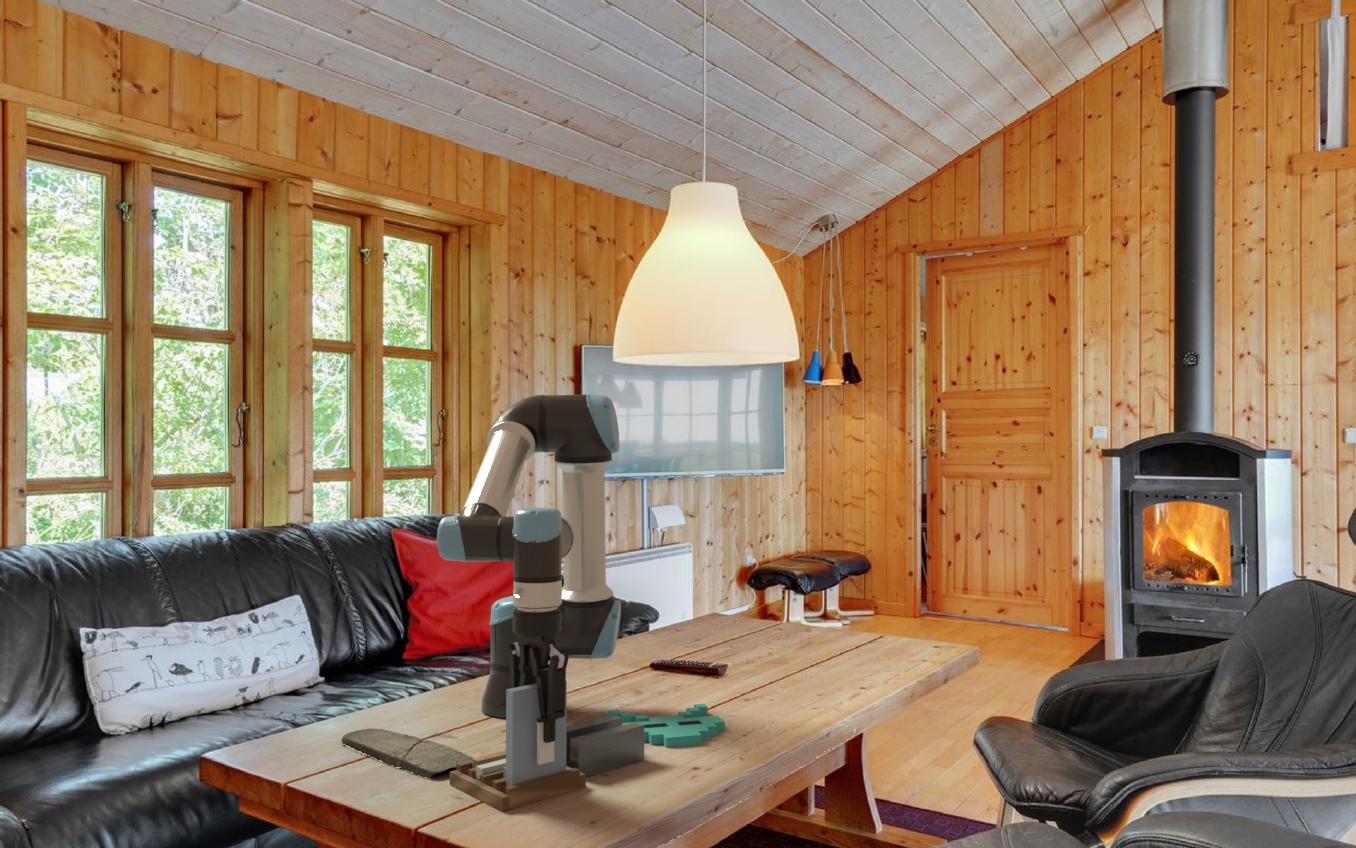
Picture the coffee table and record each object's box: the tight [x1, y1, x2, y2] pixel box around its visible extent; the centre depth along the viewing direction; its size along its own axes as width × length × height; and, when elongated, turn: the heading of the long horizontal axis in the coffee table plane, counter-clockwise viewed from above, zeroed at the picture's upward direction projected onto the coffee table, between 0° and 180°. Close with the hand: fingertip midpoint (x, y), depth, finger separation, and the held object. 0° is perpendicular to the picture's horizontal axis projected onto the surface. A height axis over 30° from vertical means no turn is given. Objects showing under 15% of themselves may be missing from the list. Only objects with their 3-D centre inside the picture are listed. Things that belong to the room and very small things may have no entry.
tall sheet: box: [505, 680, 568, 787], centre depth 150 cm, size 2×10×17 cm, turn 133°
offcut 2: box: [476, 759, 506, 781], centre depth 155 cm, size 2×11×4 cm, turn 133°
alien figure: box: [607, 703, 726, 749], centre depth 184 cm, size 20×2×20 cm
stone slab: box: [341, 728, 474, 779], centre depth 169 cm, size 10×3×30 cm
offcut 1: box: [472, 749, 506, 768], centre depth 158 cm, size 2×9×4 cm, turn 132°
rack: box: [449, 760, 587, 812], centre depth 154 cm, size 16×15×3 cm
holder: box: [566, 715, 645, 778], centre depth 165 cm, size 8×14×6 cm, turn 132°
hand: (536, 758), depth 150 cm, fingers open, 4 cm apart
